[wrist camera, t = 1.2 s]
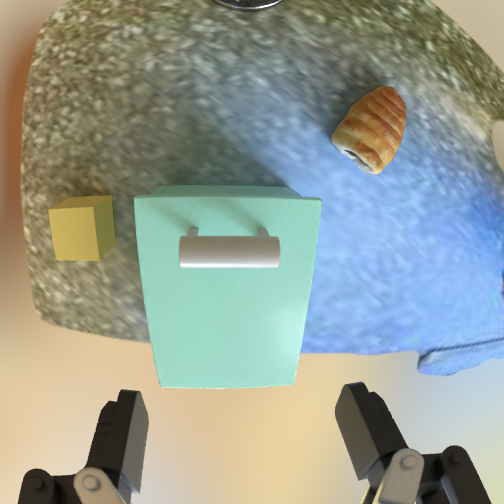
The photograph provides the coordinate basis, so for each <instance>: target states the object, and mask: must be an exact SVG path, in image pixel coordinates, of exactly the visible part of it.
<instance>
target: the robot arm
mask: <svg viewBox="0 0 504 504" xmlns="http://www.w3.org/2000/svg"><path fill="white" fill-rule="evenodd" d="M212 1H213V2H215V3H217V4H218V5H220V6H223V7H225V8H228V9H232V10H236V11H245V12H252V11H261V10H266V9H269V8H272V7H274V6H276V5H278V4H280V3H281V2H283V1H284V0H212ZM335 417H336V420H337V423H338V426H339V428H340V431H341V434H342V437H343V439H344V442H345V445H346V447H347V450H348V452H349V456H350V458H351V461H352V464H353V466H354V469H355V472H356V475H357V478H358V480H363V479H366V478H368V481H369V484H368V486H367V489H366V491H365V493H364V496H363V498H362V500H361V503H360V504H414V502H415V501H416V504H491V501H490V499H489V497H488V495H487V493H486V490H485V488H484V486H483V484H482V482H481V480H480V477H479V475H478V473H477V471H476V469H475V467H474V465H473V463H472V461H471V459H470V457H469V455H468V454H467V452H466V450H465V449H463V448H462V447H460V446H454V445H453V446H449V447H448V448H446V449H445V450H444V451H443V452H442V453H438V454H420V453H419V452H418V451H416V450H414V449H410V448H409V447H408V446H407V444H406V442H405V440H404V438H403V436H402V434H401V433H400V431H399V429H398V427H397V425H396V423H395V421H394V419H392V415H391V413H390V411H388V408H387V406H386V404H385V402H384V400H383V399H382V398H381V397H380V396H379V395H378V394H376V393H375V392H370V393H369V391H368V389H367V387H366V385H365V384H364V383H363V382H357V383H351V384H345V385H344V386H343V388H342V391H341V394H340V396H339V399H338V401H337V404H336V407H335ZM148 424H149V420H148V413H147V410H146V407H145V404H144V401H143V398H142V395H141V392H140V391H133V390H123V389H122V390H121V391H120V392H119V395H118V399H117V402H114V401H108V403H107V404H106V405H105V406H104V407H103V409H102V410H101V413H100V416H99V419H98V423H97V427H96V432H95V434H94V437H93V441H92V445H91V449H90V452H89V456H88V460H87V464H86V465H85V467H84V468H83V469H82V470H80V471H79V472H78V473H77V474H73V475H62V476H51V475H50V474H49V473H47V472H46V471H44V470H42V469H32V470H30V471H28V472H27V473H26V474H25V476H24V478H23V482H22V486H21V491H20V495H19V500H18V504H132V503H131V493H137V494H140V486H141V477H142V469H143V460H144V453H145V446H146V439H147V432H148Z"/></svg>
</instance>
